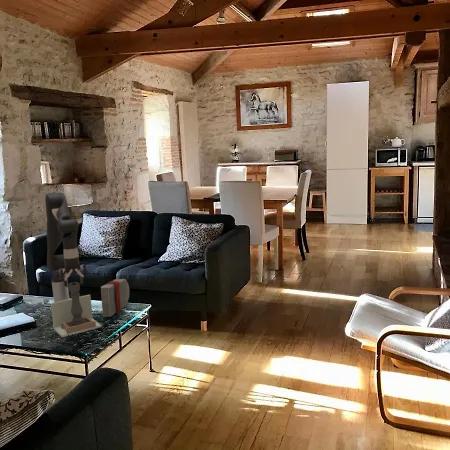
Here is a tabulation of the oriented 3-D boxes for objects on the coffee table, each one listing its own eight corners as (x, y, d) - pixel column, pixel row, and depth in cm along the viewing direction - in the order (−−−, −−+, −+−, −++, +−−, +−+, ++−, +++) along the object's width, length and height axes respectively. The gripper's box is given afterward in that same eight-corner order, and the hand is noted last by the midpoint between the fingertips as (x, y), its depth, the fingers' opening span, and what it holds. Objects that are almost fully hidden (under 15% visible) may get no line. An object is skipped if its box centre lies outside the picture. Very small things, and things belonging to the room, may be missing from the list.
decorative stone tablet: (109, 286, 290) (130, 275, 319) (99, 285, 292) (120, 275, 321) (111, 319, 292) (131, 305, 321) (100, 319, 293) (121, 305, 323)
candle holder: (84, 328, 280) (80, 284, 275) (72, 330, 278) (68, 286, 273) (84, 324, 286) (79, 281, 281) (72, 325, 284) (68, 283, 279)
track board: (53, 328, 284) (50, 303, 281) (92, 319, 296) (89, 294, 293) (61, 337, 272) (58, 310, 269) (101, 326, 284) (99, 301, 281)
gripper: (81, 252, 281) (84, 281, 284) (55, 257, 274) (59, 286, 277) (86, 255, 275) (89, 284, 278) (60, 260, 267) (63, 289, 271)
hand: (74, 285), depth 277 cm, fingers open, 8 cm apart
